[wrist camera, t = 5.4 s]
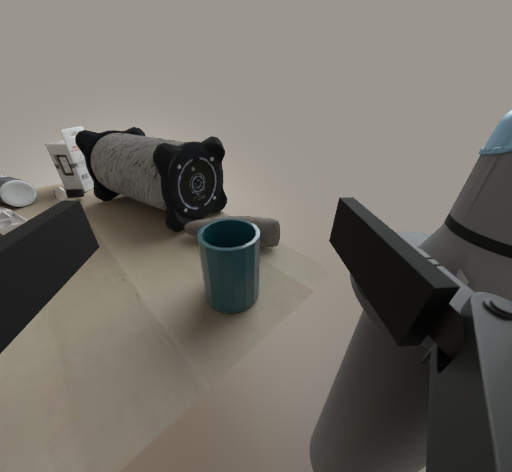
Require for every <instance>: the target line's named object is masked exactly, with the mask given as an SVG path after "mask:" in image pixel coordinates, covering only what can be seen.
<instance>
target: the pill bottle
mask: <svg viewBox="0 0 512 472" xmlns="http://www.w3.org/2000/svg"><path fill="white" fill-rule="evenodd" d="M35 199H36V190H35V188H34V187H33V186H32V185H31V184H29V183H28V182H26V181H23V180H20V179H15V178H11V177H7V176H3V175H0V202H2V203H5V204H8V205H11V206H15V207H24V206H28V205H30V204H31V203H33V202H34V200H35Z"/></svg>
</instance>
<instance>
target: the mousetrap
mask: <svg viewBox="0 0 512 472" xmlns="http://www.w3.org/2000/svg"><path fill="white" fill-rule="evenodd" d="M27 221H28V220H26V219H25V218H23V217H22V216H20V215H19V214H17V213H15V212H14V211H12V210H10V209H7V208H4V207H0V234H2V235H5V234H6V233H8V232H10V231H11V230H13V229H15V228H17V227H18V226H20V225H22V224H23V223H25V222H27Z"/></svg>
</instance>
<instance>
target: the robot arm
mask: <svg viewBox="0 0 512 472" xmlns="http://www.w3.org/2000/svg"><path fill="white" fill-rule="evenodd" d="M479 154H481V155H480V157H479V159H478V161H477V163H476V164H475V167H474V168H473V170H472V172H471V174H470V176H469V178H468V179H467V181H466V183H465V185H464V187H463V189H462V190H461V192H460V194H459V196H458V198H457V200H456V201H455V203H454V205H453V207H452V209H451V210H450V213H449V215H448V216H447V218H446V220H445V222H444V223H443V225H442V226H441V227H440V228H439V229H438V230H437V231H436V232H435V233H433V234H432V235H431V236H430V237H429V238H428V239H427V240H425V241H424V242H423V243H422V244H421V245H420V246H419V247H416V246H415V245H413V244H411V243H409V242H406V241H405V240H404V239H402V238H401V237H400V236H399V235H398V234H396V233H395V232H394V231H393V230H392V229H390V228H389V227H388V226H387V225H385V224H384V223H383V222H382V221H381V220H380V219H378V218H377V217H376V216H375V215H373V214H372V213H371V212H370V211H369V210H368V209H366V208H365V207H364V206H363V205H362V204H360V203H359V202H358V201H357V200H356V199H354V198H339V202H338V206H337V210H336V215H335V219H334V223H333V228H332V232H331V236H330V240H329V241H330V243H331V244H332V246H333V247H334V249H335V250H336V252H337V253H338V255H339V256H340V258H341V259H342V261H343V262H344V264H345V265H346V267H347V269H348V270H349V272H350V273H351V275H352V276H353V278H354V279H355V281H356V282H357V284H358V285H359V287H360V288H361V290H362V291H363V293H364V294H365V296H366V297H367V299H368V300H369V302H370V303H371V305H372V306H373V308H374V309H375V311H376V312H377V314H378V315H379V317H380V318H381V320H382V322H383V323H384V325H385V326H386V328H387V329H388V331H389V332H390V334H391V335H392V337H393V338H394V340H395V341H396V343H397V344H398V346H411V345H420V344H421V343H422V341H423V340H424V338H425V337H426V335H427V334H429V336H430V337H431V338H432V339H433V341H434V342H435V343H434V345H433V346H432V347H431V349H430V350H429V351H428V353H427V354H426V355H425V357H424V358H423V360H422V364H424V365H425V364H426V363H427V362H428V361H429V360H431V361H430V386H429V411H428V436H427V461H426V472H512V110H511V111H510V112H508V113H507V114H506V115H505V116H504V117H503V118H502V119H501V120H500V122H499V123H498V125H497V126H496V128H495V130H494V131H493V133H492V135H491V136H490V138H489V140H488V141H487V143H486V145H485V146H484V147H483V148H482V149H481V150H480V152H479ZM98 248H99V245H98V242H97V240H96V238H95V236H94V233H93V231H92V229H91V226H90V224H89V222H88V219H87V217H86V215H85V212H84V210H83V208H82V205H81V203H80V201H61V202H60V203H58V204H56V205H54V206H53V207H51V208H49V209H48V210H46V211H44V212H42V213H41V214H39V215H37V216H35V217H34V218H32V219H30V220H29V221H27V222H25V223H23V224H22V225H20V226H18V227H17V228H15V229H13V230H11V231H10V232H8V233H6V234H5V235H3V236H1V237H0V353H1V352H2V351H3V350H4V349H5V348H6V347H7V346H8V345H9V344H10V343H11V342H12V341H13V339H14V338H15V337H16V336H17V335H18V334H19V333H20V332H21V331H22V330H23V329H24V328H25V327H26V325H27V324H28V323H29V322H30V321H31V320H32V319H33V318H34V317H35V316H36V315H37V314H38V313H39V311H40V310H41V309H42V308H43V307H44V306H45V305H46V304H47V303H48V302H49V301H50V300H51V299H52V298H53V296H54V295H55V294H56V293H57V292H58V291H59V290H60V289H61V288H62V287H63V286H64V285H65V284H66V282H67V281H68V280H69V279H70V278H71V277H72V276H73V275H74V274H75V273H76V272H77V271H78V270H79V268H80V267H81V266H82V265H83V264H84V263H85V262H86V261H87V260H88V259H89V258H90V257H91V256H92V254H93V253H94V252H95V251H96V250H97V249H98Z"/></svg>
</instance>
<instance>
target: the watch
mask: <svg viewBox="0 0 512 472" xmlns="http://www.w3.org/2000/svg"><path fill="white" fill-rule="evenodd" d="M54 194H55V197H57V198H58V200H60V201H65V200H66V199H67V198H72V197H83V196H84V193H83V189H65V190H64V189H63V188H62V187H56V188H55V190H54Z"/></svg>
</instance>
